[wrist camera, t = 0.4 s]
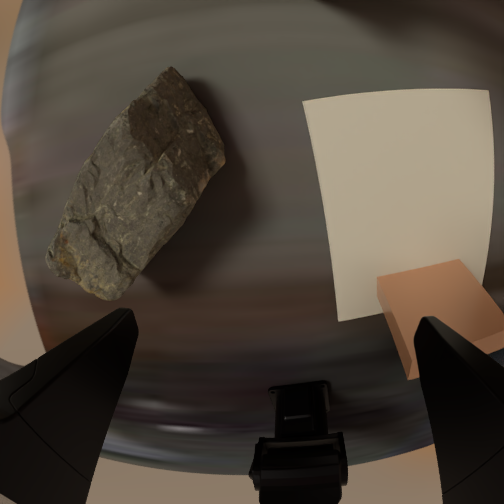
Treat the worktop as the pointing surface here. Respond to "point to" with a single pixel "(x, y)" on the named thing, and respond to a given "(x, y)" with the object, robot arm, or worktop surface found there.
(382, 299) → the terracotta tile
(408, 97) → the beige mat
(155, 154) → the rock
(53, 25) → the worktop surface
